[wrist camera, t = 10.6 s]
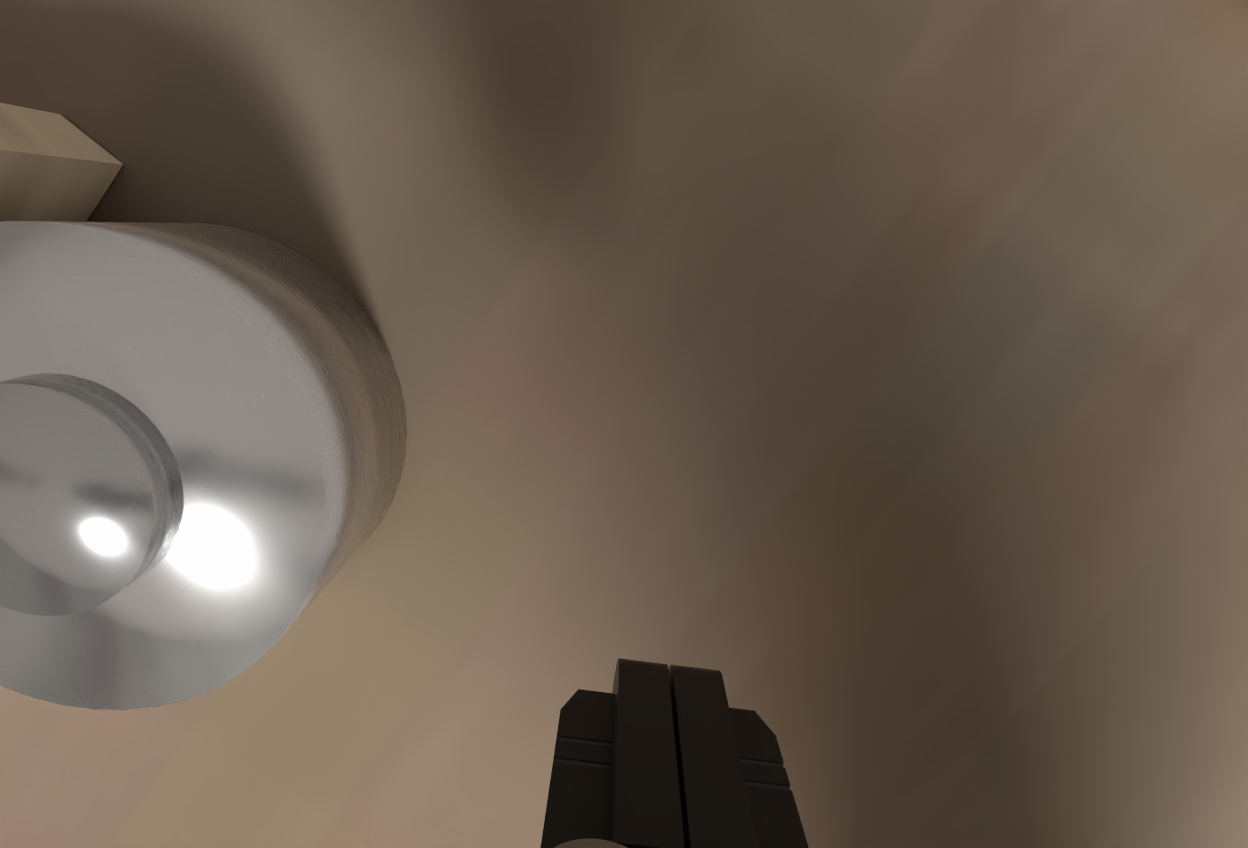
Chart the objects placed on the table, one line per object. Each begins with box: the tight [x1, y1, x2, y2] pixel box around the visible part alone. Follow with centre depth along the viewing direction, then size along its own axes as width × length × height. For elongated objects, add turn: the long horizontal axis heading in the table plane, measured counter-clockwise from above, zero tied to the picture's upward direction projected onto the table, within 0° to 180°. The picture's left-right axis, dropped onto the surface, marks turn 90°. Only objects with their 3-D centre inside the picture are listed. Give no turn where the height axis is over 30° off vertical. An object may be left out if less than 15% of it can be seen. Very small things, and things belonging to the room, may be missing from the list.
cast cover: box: [0, 221, 407, 710], centre depth 16 cm, size 9×9×6 cm
